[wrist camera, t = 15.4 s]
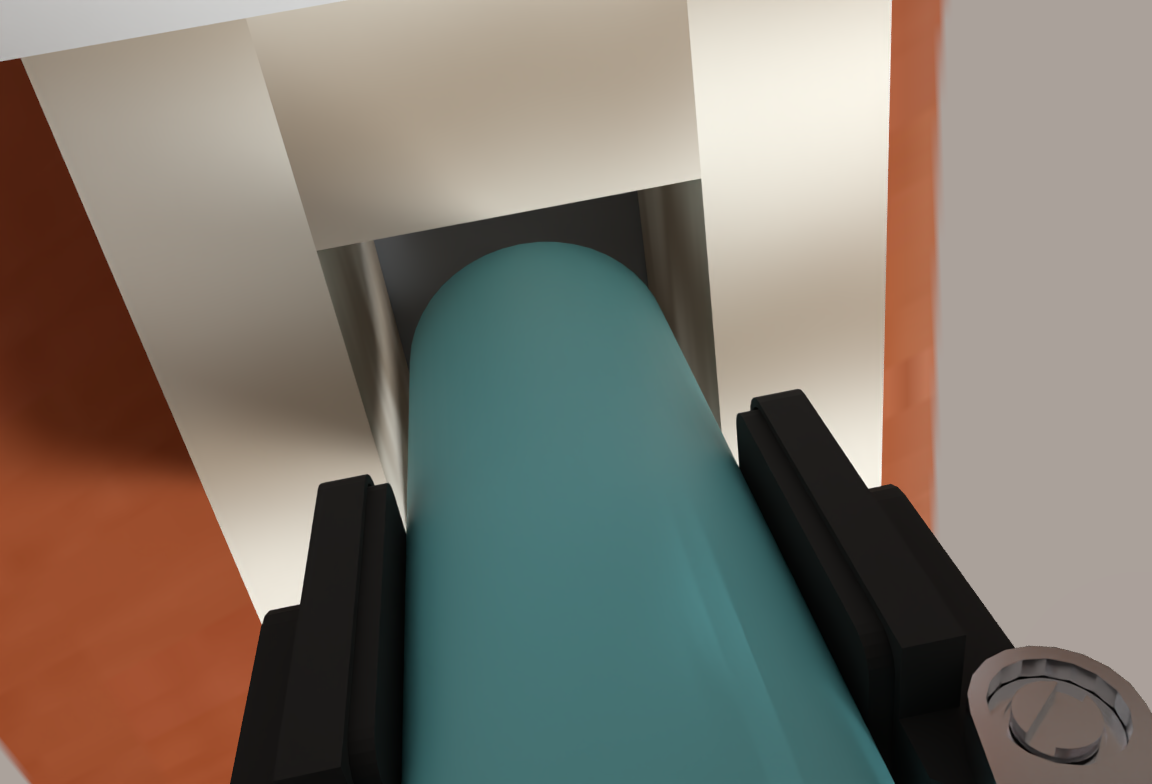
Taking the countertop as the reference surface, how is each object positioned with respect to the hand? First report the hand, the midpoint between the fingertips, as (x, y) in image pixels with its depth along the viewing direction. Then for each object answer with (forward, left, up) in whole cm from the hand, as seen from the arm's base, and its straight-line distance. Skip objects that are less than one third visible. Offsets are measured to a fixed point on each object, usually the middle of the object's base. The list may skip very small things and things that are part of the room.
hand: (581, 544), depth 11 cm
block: (0, 0, -10) cm, 10 cm away
